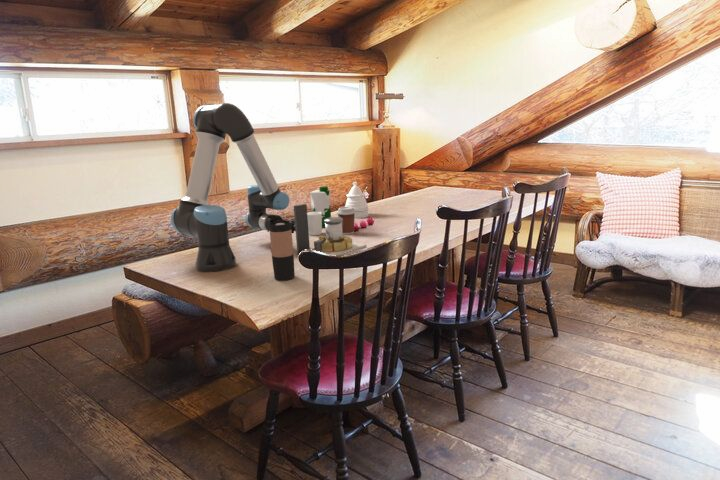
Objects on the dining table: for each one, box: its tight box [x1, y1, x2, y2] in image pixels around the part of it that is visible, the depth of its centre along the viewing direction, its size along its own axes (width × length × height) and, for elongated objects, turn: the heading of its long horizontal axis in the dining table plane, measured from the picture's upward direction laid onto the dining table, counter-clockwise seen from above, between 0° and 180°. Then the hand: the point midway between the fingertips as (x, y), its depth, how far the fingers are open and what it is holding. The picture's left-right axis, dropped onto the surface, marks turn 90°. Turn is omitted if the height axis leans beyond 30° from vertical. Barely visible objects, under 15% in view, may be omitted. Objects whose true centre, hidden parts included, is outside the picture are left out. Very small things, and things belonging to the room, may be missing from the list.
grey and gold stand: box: [293, 203, 353, 256], centre depth 217 cm, size 22×16×20 cm
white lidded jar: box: [324, 216, 343, 243], centre depth 222 cm, size 8×8×13 cm
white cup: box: [307, 211, 323, 236], centre depth 251 cm, size 8×8×10 cm
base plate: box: [310, 241, 367, 256], centre depth 223 cm, size 21×17×1 cm
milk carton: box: [309, 186, 332, 229], centre depth 265 cm, size 9×9×20 cm
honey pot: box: [344, 181, 369, 219], centre depth 287 cm, size 13×13×18 cm
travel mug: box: [269, 220, 296, 282], centre depth 186 cm, size 8×8×20 cm
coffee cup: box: [335, 206, 356, 235], centre depth 250 cm, size 9×9×12 cm
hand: (306, 229), depth 215 cm, fingers closed
